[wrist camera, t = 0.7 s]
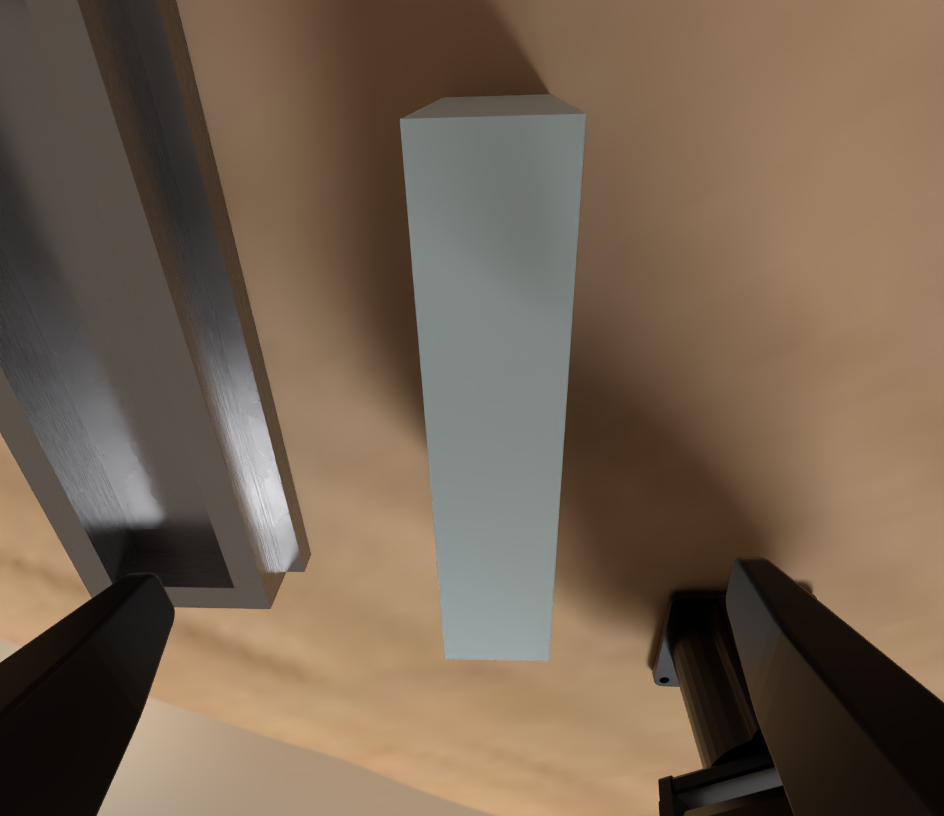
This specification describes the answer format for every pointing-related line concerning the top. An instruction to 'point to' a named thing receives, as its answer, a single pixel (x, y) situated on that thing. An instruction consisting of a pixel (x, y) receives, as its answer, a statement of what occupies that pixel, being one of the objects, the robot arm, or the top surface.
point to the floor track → (132, 314)
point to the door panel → (494, 352)
